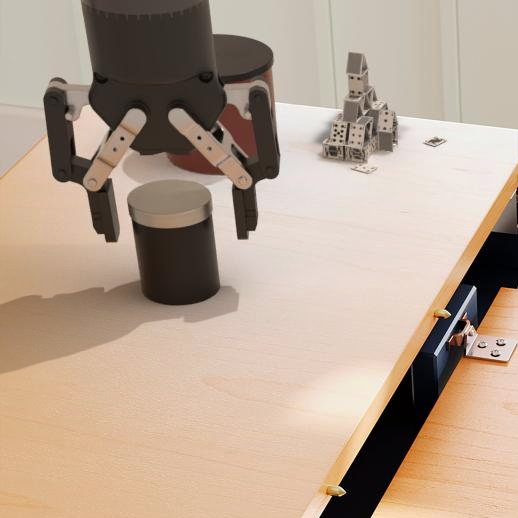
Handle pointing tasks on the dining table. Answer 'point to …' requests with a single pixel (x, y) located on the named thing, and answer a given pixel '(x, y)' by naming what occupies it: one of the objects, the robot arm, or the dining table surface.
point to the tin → (231, 72)
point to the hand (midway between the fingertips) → (178, 236)
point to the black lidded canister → (174, 241)
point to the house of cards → (363, 121)
